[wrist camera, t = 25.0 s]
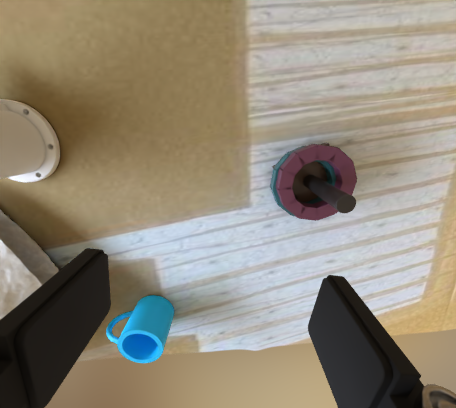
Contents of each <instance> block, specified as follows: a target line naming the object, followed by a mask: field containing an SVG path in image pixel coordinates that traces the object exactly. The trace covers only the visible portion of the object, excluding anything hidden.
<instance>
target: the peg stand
mask: <svg viewBox="0 0 456 408" xmlns="http://www.w3.org/2000/svg"><path fill="white" fill-rule="evenodd" d="M321 145H324V146H329V143H324V144H321ZM275 166H276V165H274V166H273V169H275V168H274V167H275ZM292 189H293V192H294V195H295V198H296V199H297V200H298V201H300V202H308V201H310V200H313V199H316V198H317V197H318V196H319V197H320V198H321V199H323V200H324V201H325V202H327V203H328V204H329V205H331V206H332V207H333V208H335V209H336V210H337V211H339V212H341V213H348V212H350V211H352V210H353V209H354V207H355V205H356V200H355V198H354V197H353V196H351V195H349V194H348V193H346V192H344V191H342V190H340V189H338V188H336V187H335V186H333V185H331V184H329V183H327V175H326V171H325V168H324V167H323V166H322V165H321V164H320V163H318V162H314V161H313V162H310V163H308V164H305V165H304V166H303V167H302V168H301V169H300V170H299V171H298V173H297V174H296V175H295V178H294V182H293V186H292Z"/></svg>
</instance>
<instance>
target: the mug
mask: <svg viewBox="0 0 456 408" xmlns="http://www.w3.org/2000/svg"><path fill="white" fill-rule="evenodd" d="M173 316H174V308H173V306H172V304H171V303H170V302H169V301H168V300H167V299H165V298H163V297H161V296H156V295H150V296H146V297H143V298H142V299H141V300H139V301H138V303H137V305H136V307H135V309H134V311H129V312H125V313H123V314H121V315H118V316H117V317H116V318H114V319H113V320H112V321H111V322H110V323H109V324H108V327H107V329H106V333H107V337H108V338H109V340H110V341H112V342H114V343H116V344H117V347H118V349H119V352H120V353H121V354H122V355H123V356H124V357H125V358H127V359H128V360H131V361H134V362H138V363H149V362H152V361H155V360H157V359H158V358H159V357H160V356H161V354H162V353H163V350H164V346H165V343H166V340H167V336H168V333H169V330H170V326H171V323H172V320H173ZM127 317H130V318H129V320H128V322H127V324H126V326H125V328H124V330H123V331H122V333H121V335H120V337H119V338H117V337H115V336H114V335H113V334H112V328H113V327H114V325H115V324H116V323H118V322H119V321H120V320H122V319H125V318H127Z"/></svg>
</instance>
